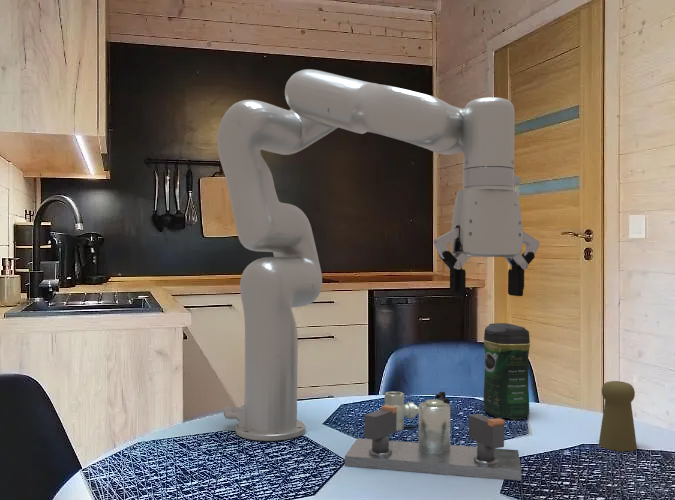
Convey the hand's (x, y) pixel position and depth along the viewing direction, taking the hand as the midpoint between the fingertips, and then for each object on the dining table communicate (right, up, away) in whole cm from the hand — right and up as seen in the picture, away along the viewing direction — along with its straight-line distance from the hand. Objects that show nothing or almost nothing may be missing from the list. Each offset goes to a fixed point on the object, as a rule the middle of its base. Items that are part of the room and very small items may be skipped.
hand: (487, 295), depth 98 cm
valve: (-8, -27, +25) cm, 37 cm away
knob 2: (0, -25, 0) cm, 24 cm away
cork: (+25, -27, +13) cm, 39 cm away
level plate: (-8, -26, +4) cm, 28 cm away
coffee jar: (+12, -27, +35) cm, 46 cm away
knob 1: (-16, -24, +3) cm, 29 cm away
